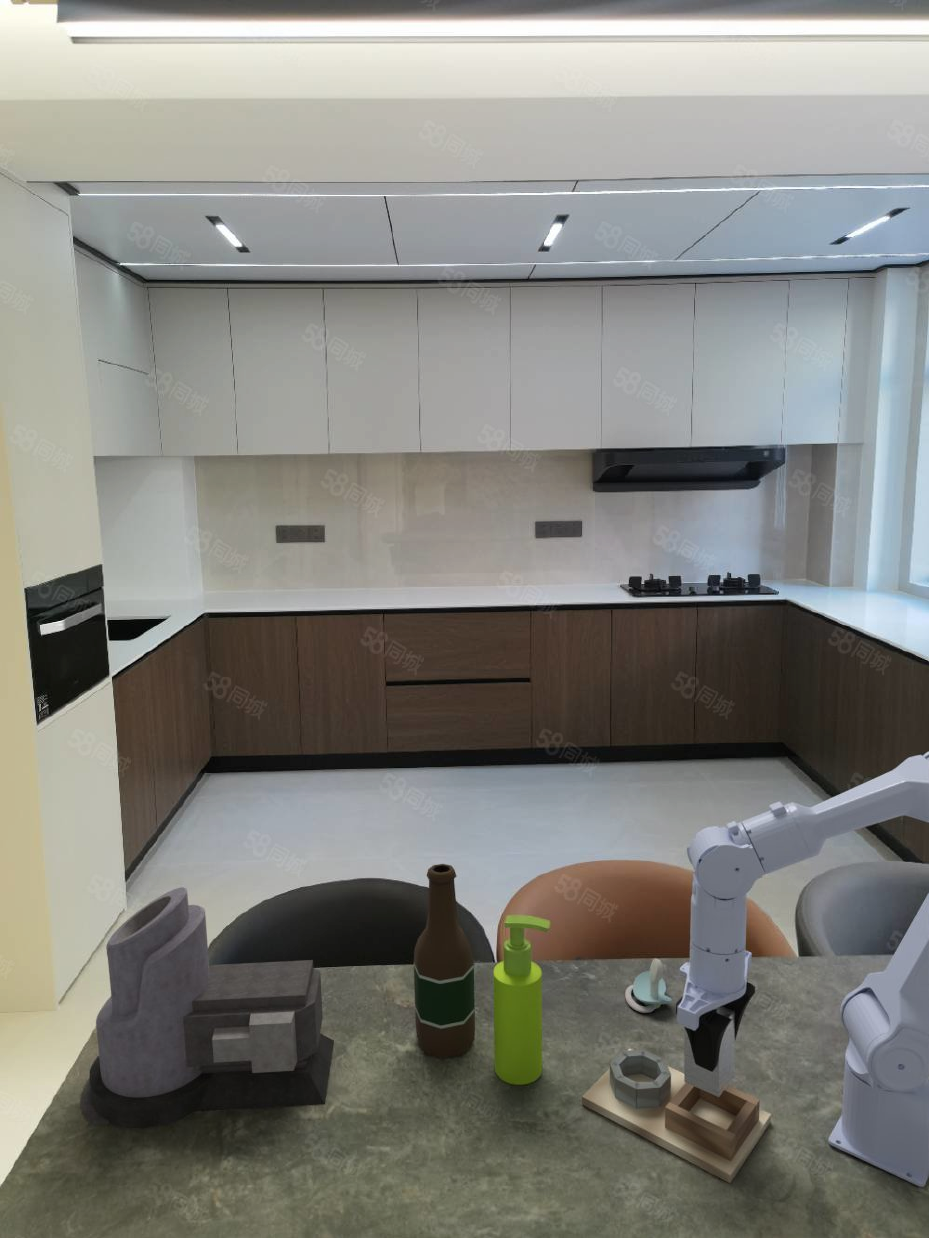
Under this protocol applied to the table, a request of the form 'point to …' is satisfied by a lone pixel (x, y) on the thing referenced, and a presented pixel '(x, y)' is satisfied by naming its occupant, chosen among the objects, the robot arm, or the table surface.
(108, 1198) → the table surface
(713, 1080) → the square peg
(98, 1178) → the table surface
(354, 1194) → the table surface
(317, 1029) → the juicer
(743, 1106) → the socket board
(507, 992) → the soap dispenser
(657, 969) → the pacifier
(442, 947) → the beer bottle
